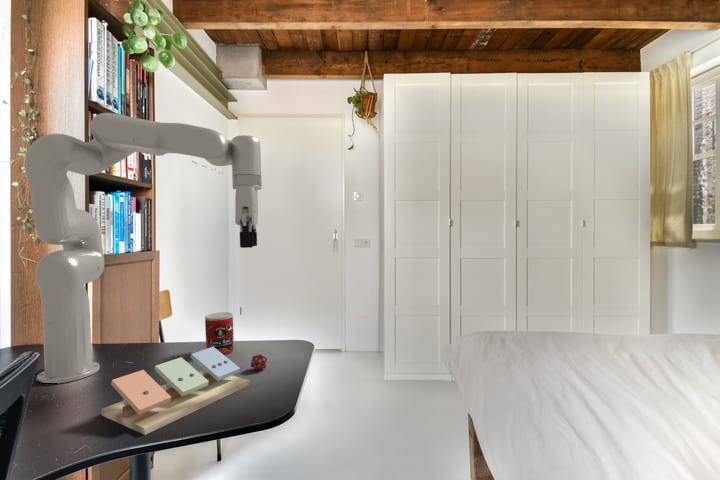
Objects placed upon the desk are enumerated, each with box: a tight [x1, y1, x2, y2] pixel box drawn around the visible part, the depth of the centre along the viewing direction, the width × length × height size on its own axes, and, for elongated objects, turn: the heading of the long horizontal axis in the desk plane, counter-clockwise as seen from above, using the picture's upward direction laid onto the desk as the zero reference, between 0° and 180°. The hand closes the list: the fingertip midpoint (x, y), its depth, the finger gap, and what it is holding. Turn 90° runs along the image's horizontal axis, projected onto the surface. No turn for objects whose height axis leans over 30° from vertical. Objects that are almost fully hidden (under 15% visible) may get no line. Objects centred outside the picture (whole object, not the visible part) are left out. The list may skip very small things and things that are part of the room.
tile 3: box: [190, 347, 241, 381], centre depth 87 cm, size 10×6×2 cm, turn 60°
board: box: [100, 370, 250, 436], centre depth 80 cm, size 15×24×3 cm, turn 149°
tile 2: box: [154, 356, 209, 396], centre depth 80 cm, size 10×6×2 cm, turn 60°
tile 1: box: [110, 369, 171, 415], centre depth 73 cm, size 10×6×2 cm, turn 60°
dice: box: [250, 353, 268, 371], centre depth 96 cm, size 4×4×4 cm
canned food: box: [204, 311, 235, 356], centre depth 111 cm, size 8×8×11 cm
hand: (249, 246), depth 102 cm, fingers open, 9 cm apart
